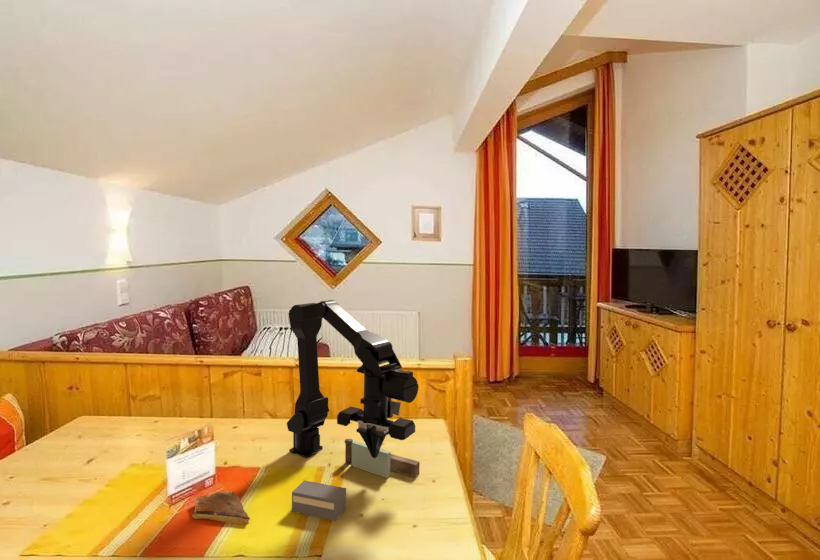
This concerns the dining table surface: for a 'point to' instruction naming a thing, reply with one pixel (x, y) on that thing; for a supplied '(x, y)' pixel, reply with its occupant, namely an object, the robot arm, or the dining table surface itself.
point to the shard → (220, 508)
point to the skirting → (404, 465)
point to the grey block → (319, 500)
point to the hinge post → (348, 451)
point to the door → (371, 460)
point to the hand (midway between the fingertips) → (374, 457)
